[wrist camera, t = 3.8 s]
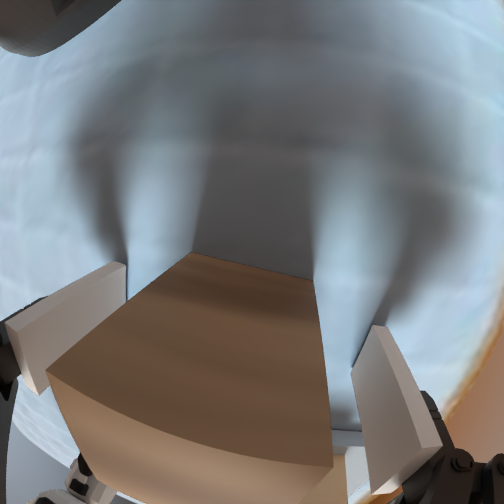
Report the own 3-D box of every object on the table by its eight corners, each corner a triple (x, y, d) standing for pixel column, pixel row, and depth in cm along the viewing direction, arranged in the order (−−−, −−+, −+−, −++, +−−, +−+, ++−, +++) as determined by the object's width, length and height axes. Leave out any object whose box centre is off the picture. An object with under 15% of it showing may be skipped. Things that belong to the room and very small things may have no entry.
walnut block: (191, 252, 11) (44, 369, 3) (313, 280, 11) (333, 467, 3) (181, 349, 12) (97, 480, 5) (282, 375, 12) (260, 533, 4)
